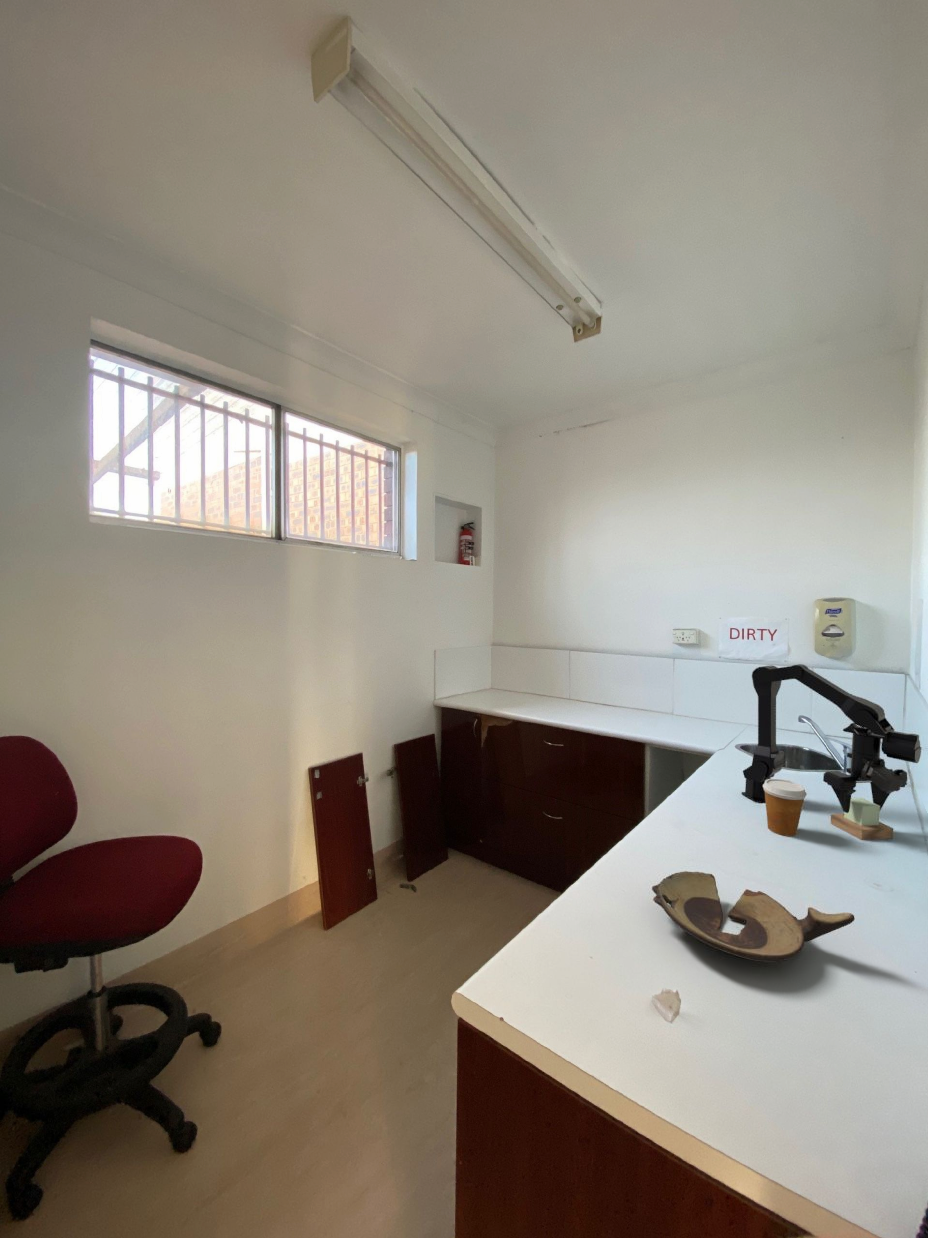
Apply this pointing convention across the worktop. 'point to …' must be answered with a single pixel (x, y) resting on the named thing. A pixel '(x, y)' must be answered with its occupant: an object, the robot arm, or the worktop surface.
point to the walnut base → (862, 828)
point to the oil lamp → (741, 918)
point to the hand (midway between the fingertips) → (861, 811)
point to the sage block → (863, 812)
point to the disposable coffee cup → (783, 805)
